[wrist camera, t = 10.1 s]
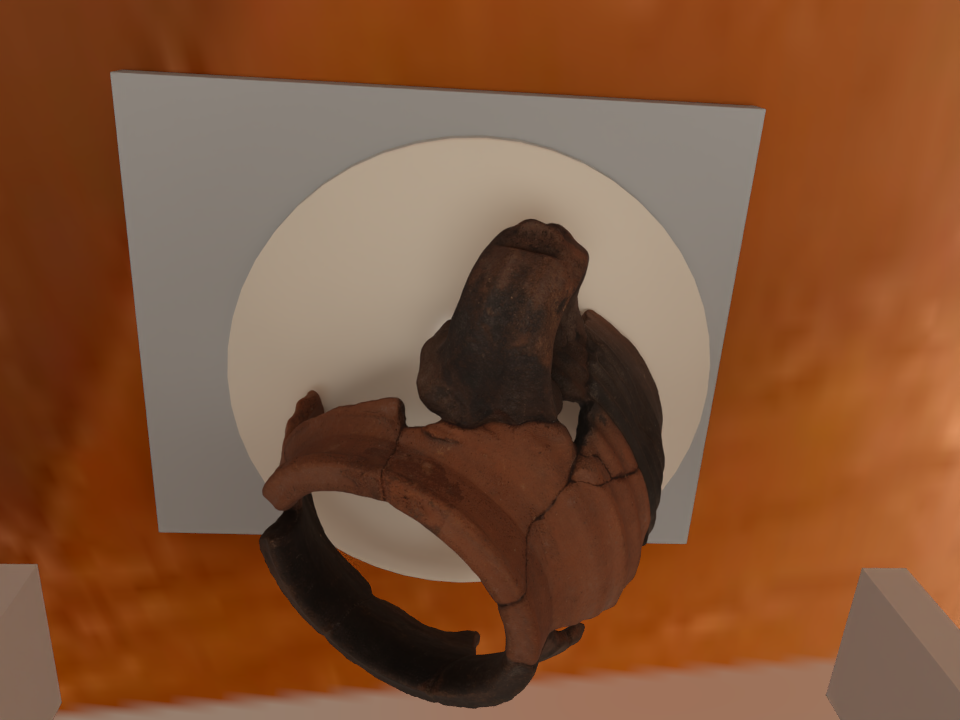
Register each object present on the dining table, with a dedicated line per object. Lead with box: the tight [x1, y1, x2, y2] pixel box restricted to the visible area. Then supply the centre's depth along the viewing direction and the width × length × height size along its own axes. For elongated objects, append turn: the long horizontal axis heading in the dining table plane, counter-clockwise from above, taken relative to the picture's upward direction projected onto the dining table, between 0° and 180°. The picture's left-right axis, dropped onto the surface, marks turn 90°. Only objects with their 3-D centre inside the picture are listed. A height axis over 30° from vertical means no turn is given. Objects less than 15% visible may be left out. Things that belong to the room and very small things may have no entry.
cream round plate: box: [227, 135, 710, 582], centre depth 23 cm, size 13×13×1 cm
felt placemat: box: [110, 70, 766, 544], centre depth 23 cm, size 16×13×1 cm
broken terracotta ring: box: [259, 219, 665, 708], centre depth 20 cm, size 12×10×8 cm
